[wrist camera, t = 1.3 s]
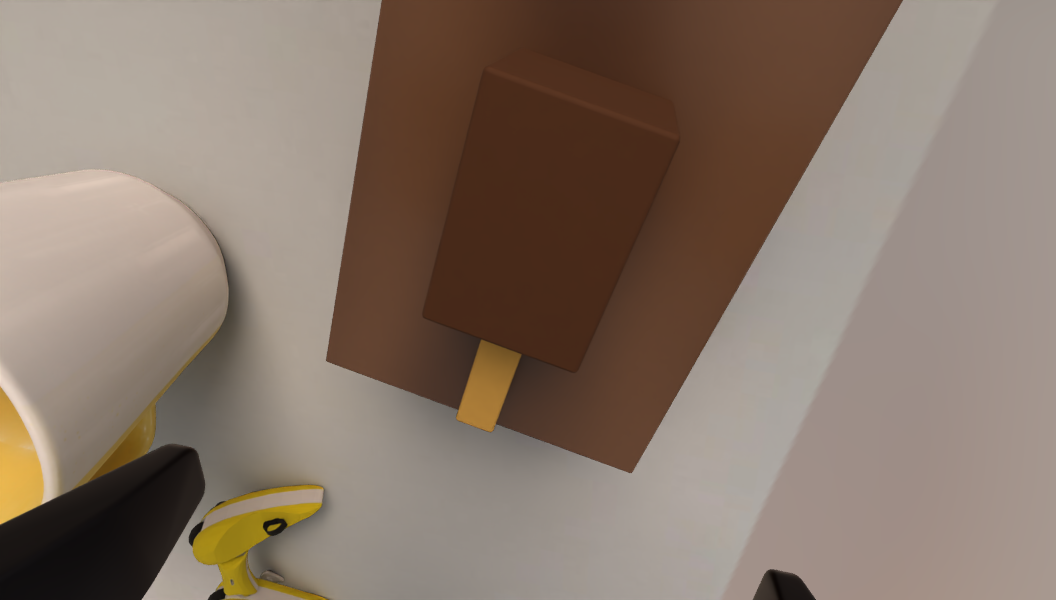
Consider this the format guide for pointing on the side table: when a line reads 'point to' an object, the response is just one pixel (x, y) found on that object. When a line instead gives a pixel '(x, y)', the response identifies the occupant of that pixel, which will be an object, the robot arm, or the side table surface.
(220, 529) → the game controller
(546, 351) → the chocolate ice cream bar
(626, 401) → the stand
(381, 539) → the side table surface
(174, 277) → the mug
